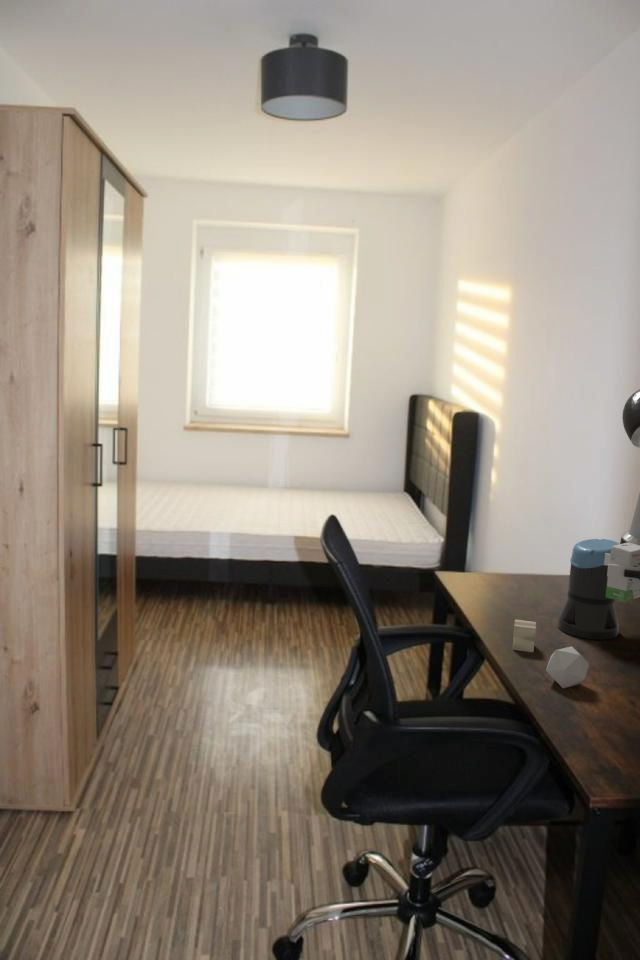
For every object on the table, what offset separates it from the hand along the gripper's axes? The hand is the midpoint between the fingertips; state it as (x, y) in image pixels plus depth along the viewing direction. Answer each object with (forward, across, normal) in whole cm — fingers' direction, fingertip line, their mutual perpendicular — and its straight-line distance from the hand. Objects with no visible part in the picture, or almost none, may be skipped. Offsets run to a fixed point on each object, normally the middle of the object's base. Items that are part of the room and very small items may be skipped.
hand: (606, 564), depth 189 cm
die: (+7, -15, -24) cm, 29 cm away
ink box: (-4, 0, -7) cm, 8 cm away
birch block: (+16, +5, -24) cm, 30 cm away
